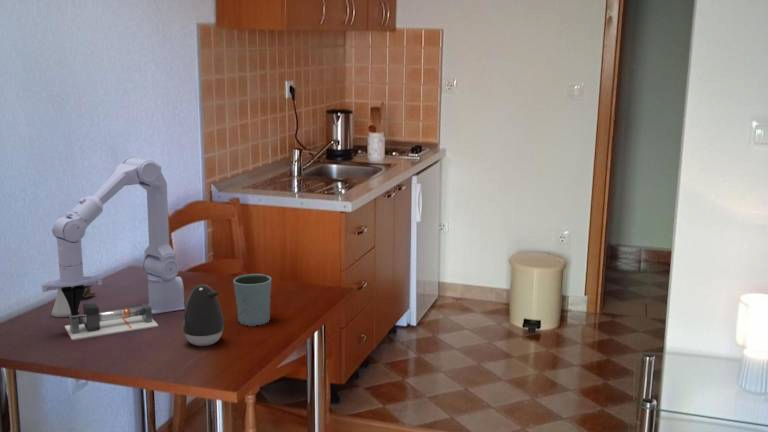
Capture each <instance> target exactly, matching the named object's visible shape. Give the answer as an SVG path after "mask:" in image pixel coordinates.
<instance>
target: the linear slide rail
mask: <svg viewBox="0 0 768 432" xmlns="http://www.w3.org/2000/svg"><path fill="white" fill-rule="evenodd" d="M148 304H149V303H142V304H141V305H140V306H135V307H126V308H122V309H114V310H107V311H102V312H100V311H99V321H100V322H101V321H108V320H115V319H121V318H130V317H135V316H142V319H143V320H144V321H145V322H146V323H149V322H152V319H153V314H152V308H151V307H150V306H149V305H148ZM68 318H69V320H68V321H69V325H70V330H71V332H72V333H73V334H77V333H79V325H81V324H87V317H86V315H84V314H80V315H79V314H78V315H74V316H72V315H71V314H70V315H69V317H68Z"/></svg>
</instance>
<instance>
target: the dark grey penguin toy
mask: <svg viewBox="0 0 768 432" xmlns="http://www.w3.org/2000/svg"><path fill="white" fill-rule="evenodd" d="M219 294H220V293H219V291H217V290H216V291H214V290H213V289H212V288H211V287H210V286H208V285H207V284H199V285H196V286H195V287H193V289H192V290H191V291H190V294H189V296H188V299H187V301H186V305H185V306H184V307H185V309H184V313H183V320H182V333H184V337H185V339H186V340H187V341H188V342H189V343H190V344H192V345H194V346H198V347H206V346H207V347H208V346H212V345H214V344H215V343H216V342H218V341H219V340H220V338H221V336H222V335H223V331H224V328H225V324H224V323H225V322H224V317H223V312H222V309H221V305H220V302H219V300H218V297H217V296H219Z"/></svg>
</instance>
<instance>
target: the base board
mask: <svg viewBox="0 0 768 432" xmlns="http://www.w3.org/2000/svg"><path fill="white" fill-rule="evenodd" d="M157 327H159V324H158V323H157V322H156V320H154V319H153V318H152V322H149V323H146V322H145V321H144V320H143V319H142V316H135V317H130V318H121V319H115V320H108V321H101V322H100V329H97V330H91V331H88V330H87V328H86V327H85V325H84V324H81V325H79V333H77V334H73V333H72V332H71V330H70V324H68V325H64V329H65V331H66V332H67V334H68V336H69V337H70V339H71V341H74V340H75V341H77V340H81V339H82V340H83V339H88V338H94V337H95V338H96V337H101V336H107V335H113V334H120V333H126V332H132V331H138V330H139V331H140V330H144V329H145V330H146V329H151V328H157Z"/></svg>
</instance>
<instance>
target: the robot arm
mask: <svg viewBox="0 0 768 432" xmlns="http://www.w3.org/2000/svg"><path fill="white" fill-rule="evenodd" d="M135 185H139V186H140V187H141V188H143V189H144V190H145V191H146V201H147V202H146V203H147V206H146V209H147V228H148V229H147V230H148V246H147V247H146V249H145V250H144V255H143V259H142V262H141V263H142V264H141V268H142V271H143V272H144V273H145V274H146V278H147V287H148V303H147V304H148V305H149V306H150V307H151V308H152V315H155V314H162V313H168V312H174V311H175V312H176V311H181V310H185V307H186V306H185V292H184V291H185V290H184V289H185V288H184V283H183V279H182V277H181V276H179V275H178V273H179V271H180V265H179V262H178V260H177V255H176V254H177V253H176V252H175V250H174V249H173V247H172V246H171V245H170V234H169V233H170V232H169V231H170V230H169V229H170V227H169V207H168V204H169V202H168V184H167V181H166V179H165V177H164V175H163V172H162V165H159V164H158V163H157V162H155V161H154V160H152V159H144V158H143V159H142V158H138V157H134V156H130V157H129V156H128V157H126V158H125V159H123V161H122V162H121V163H119V164H118V165H117V166H116V168H115V171H114V172H113V173H112V174H111V175H110V176H109V178H108V179H107V180H106V181H105V182H104V183H103V184H102V186H101V187H100V188H99V189H98V190H97V191H96V192H95V193H94V194H93V195H91V196H89V195H86V196H85V197H80V198H79V200H78V203H77V204H76V205H75V206H74V207H73V208H72V209H71V210H70V211H67V212H66V213H65V216H63V217H59V218H58V219H56V220H55V222H54V223H53V228H51V233H52V235H53V236H54V237H55V239H56V244H57V254H58V256H57V257H58V266H59V267H58V268H59V279H60V280H58V279H56V280H51V281H46V282H41V291H42V292H43V293H47V292H48V291H58V289H61V290H62V292H63V294H64V296H65V298H66V300H67V302H68V304H69V307H70V311H71V315H72V316H74V315H77V316H79V312H78V309H79V310H80V304H81V301H82V298H83V294H84V291H85V289H84V286H89V285H93V286H94V285H97V286H101V285H103V277H102V276H101V275H95V276H93V275H92V276H84V267H83V266H84V264H83V251H82V250H83V248H82V239H83V238H84V237H85V234H86V230H87V228H88V227H89V225H91V224H92V223H93V222H94V221H95V220H96V218H97V217H99V216H100V214H102V213H103V211H104V210H103V209H104V205H105V203H107V202H108V201H109V200H110V199H112V198H113V197H114V196H115V195H116V194H117V193H118V192H120V191H121V190H122V189H123V188H124V187H125V186H135ZM177 275H178V276H177Z"/></svg>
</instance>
